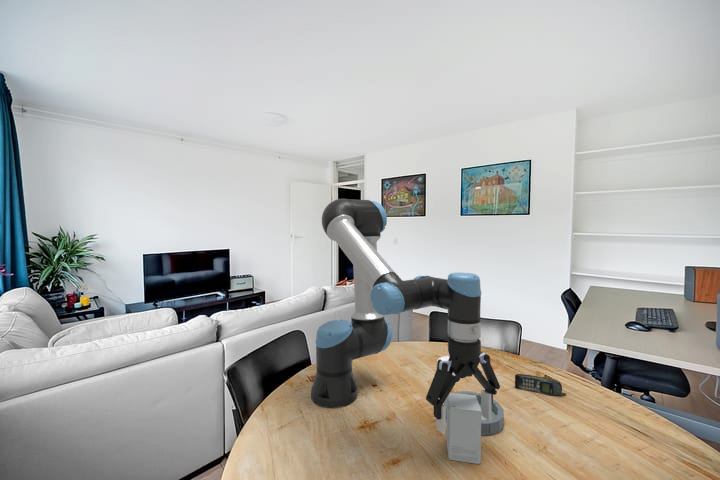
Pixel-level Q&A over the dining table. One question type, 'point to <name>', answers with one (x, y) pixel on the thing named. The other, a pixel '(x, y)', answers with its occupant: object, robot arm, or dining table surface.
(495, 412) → the round tray
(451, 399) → the supplement box
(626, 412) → the dining table surface
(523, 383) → the mobile phone
